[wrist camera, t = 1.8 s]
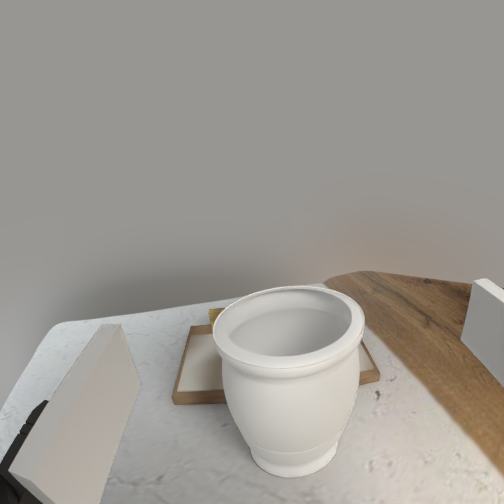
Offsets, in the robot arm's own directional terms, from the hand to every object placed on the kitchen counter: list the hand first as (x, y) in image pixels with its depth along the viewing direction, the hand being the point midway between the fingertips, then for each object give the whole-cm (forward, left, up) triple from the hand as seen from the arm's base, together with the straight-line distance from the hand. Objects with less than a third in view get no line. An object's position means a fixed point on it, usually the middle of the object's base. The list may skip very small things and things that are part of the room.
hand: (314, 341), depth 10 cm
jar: (0, -10, -20) cm, 22 cm away
